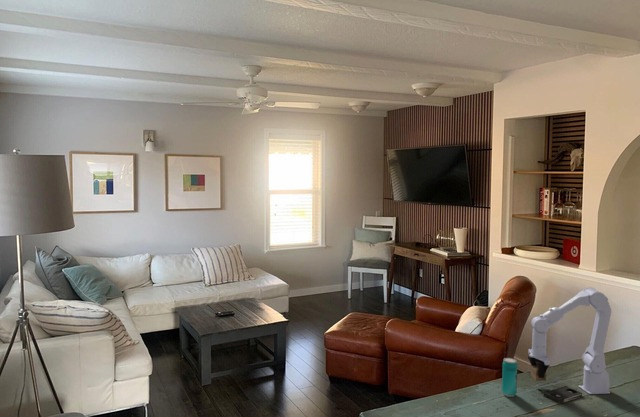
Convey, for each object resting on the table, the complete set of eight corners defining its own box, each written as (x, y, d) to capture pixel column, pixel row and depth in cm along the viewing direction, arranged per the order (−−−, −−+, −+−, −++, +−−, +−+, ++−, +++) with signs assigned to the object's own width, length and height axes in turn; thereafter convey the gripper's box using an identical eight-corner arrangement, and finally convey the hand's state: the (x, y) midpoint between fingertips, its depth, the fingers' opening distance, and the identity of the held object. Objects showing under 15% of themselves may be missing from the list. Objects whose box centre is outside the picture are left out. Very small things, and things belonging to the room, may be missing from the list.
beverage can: (517, 398, 207) (518, 363, 206) (503, 396, 208) (504, 362, 207) (515, 392, 212) (516, 358, 211) (500, 391, 214) (501, 357, 213)
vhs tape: (560, 404, 202) (560, 400, 202) (543, 397, 209) (543, 392, 209) (582, 397, 209) (582, 393, 208) (565, 390, 216) (565, 385, 215)
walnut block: (540, 376, 220) (540, 365, 219) (545, 380, 215) (546, 369, 215) (530, 376, 219) (530, 365, 219) (535, 380, 215) (536, 369, 214)
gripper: (522, 339, 223) (521, 369, 224) (539, 350, 209) (538, 382, 210) (537, 339, 224) (536, 368, 225) (555, 350, 209) (554, 381, 210)
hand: (538, 375), depth 217 cm, fingers closed on walnut block, 4 cm apart
